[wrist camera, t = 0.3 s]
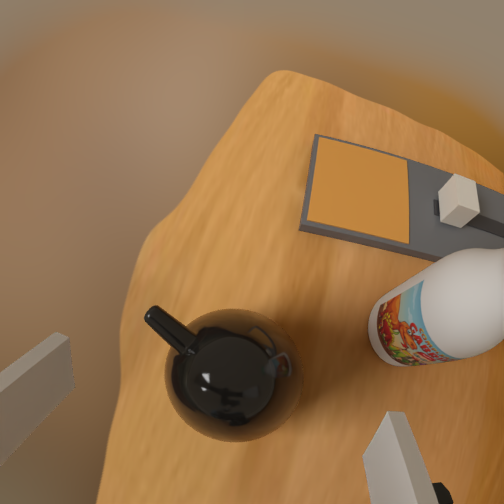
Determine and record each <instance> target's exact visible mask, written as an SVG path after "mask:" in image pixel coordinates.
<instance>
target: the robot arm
mask: <svg viewBox="0 0 504 504" xmlns="http://www.w3.org/2000/svg"><path fill="white" fill-rule="evenodd" d="M74 388H75V383H74V376H73V368H72V360H71V350H70V340H69V337H67V336H65V335H62V334H59V333H57V332H55V333H54V334H52V335H51V336H49V337H48V338H47V339H45V340H44V341H43V342H41V343H40V344H38V345H37V346H36V347H34V348H33V349H32V350H30V351H29V352H27V353H26V354H25V355H24V356H22V357H21V358H19V359H18V360H17V361H15V362H14V363H13V364H11V365H10V366H8V367H7V368H6V369H4V370H3V371H2V372H0V467H1V465H2V464H3V463H4V462H5V461H6V460H7V459H8V458H9V457H10V456H11V454H12V453H13V452H14V451H15V450H16V449H17V448H18V447H19V446H20V445H21V444H22V443H23V442H24V440H25V439H26V438H27V437H28V436H29V435H30V434H31V433H32V432H33V431H34V430H35V429H36V428H37V427H38V426H39V425H40V423H41V422H42V421H43V420H44V419H45V418H46V417H47V416H48V415H49V414H50V413H51V412H52V411H53V410H54V409H55V408H56V407H57V406H58V405H59V404H60V403H61V401H62V400H63V399H64V398H65V397H66V396H67V395H68V394H69V393H70V392H71V391H72V390H73V389H74ZM362 457H363V462H364V467H365V472H366V478H367V483H368V488H369V494H370V500H371V504H453V500H452V497H451V495H450V492H449V491H448V490H447V488H446V487H445V486H444V485H443V484H442V483H441V482H440V483H431V480H430V477H429V474H428V472H427V469H426V466H425V464H424V461H423V458H422V456H421V453H420V451H419V448H418V445H417V443H416V440H415V438H414V435H413V433H412V430H411V428H410V425H409V423H408V421H407V418H406V416H405V413H404V412H395V411H387V413H386V415H385V417H384V419H383V421H382V422H381V424H380V426H379V428H378V430H377V432H376V433H375V435H374V437H373V439H372V441H371V442H370V444H369V446H368V447H367V449H366V451H365V453H364V454H363V456H362Z"/></svg>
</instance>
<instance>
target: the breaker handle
mask: <svg viewBox="0 0 504 504" xmlns="http://www.w3.org/2000/svg"><path fill="white" fill-rule="evenodd" d="M438 194H439V207H440V222H443V223H446V224H449V225H453V226H456V227H459V228H462V227H463V226H464V225H465V224H467V223H468V222H469V221H470V220H471V219H473V218H474V217H475V216H476V215H477V214H479V213H480V209H479V202H478V195H477V189H476V183H475V181H473V180H470V179H468V178H465V177H463V176H460V175H457V174H454V175H453V176H452V177H451V178H450V179H449V180H448V182H447V183H446V184H445V185H444V186H443V187H442V188H441V189H440V190H439V192H438Z"/></svg>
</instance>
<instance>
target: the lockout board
mask: <svg viewBox="0 0 504 504" xmlns="http://www.w3.org/2000/svg"><path fill="white" fill-rule="evenodd" d="M452 176H453V174H451V173H448V172H445V171H442V170H440V169H437V168H434V167H431V166H428V165H425V164H422V163H419V162H416V161H413V160H410V159H407V158H403V157H400V156H397V155H394V154H390V153H387V152H384V151H380V150H377V149H373V148H369V147H366V146H362V145H358V144H355V143H351V142H347V141H343V140H339V139H335V138H331V137H326V136H322V135H318V134H315V137H314V140H313V146H312V152H311V159H310V165H309V172H308V178H307V184H306V191H305V197H304V203H303V209H302V214H301V220H300V226H299V230H300V231H304V232H309V233H313V234H318V235H322V236H327V237H331V238H336V239H340V240H345V241H349V242H354V243H358V244H362V245H367V246H371V247H375V248H380V249H384V250H388V251H392V252H396V253H401V254H405V255H409V256H413V257H417V258H421V259H425V260H429V261H433V262H437V261H438V260H440V259H442V258H443V257H445V256H447V255H450V254H452V253H454V252H457V251H460V250H464V249H471V248H483V249H501V248H504V195H503V194H501V193H498V192H496V191H494V190H491V189H489V188H487V187H484V186H482V185H479V184H477V183H476V189H477V195H478V202H479V209H480V213H479V214H477V215H476V216H475V217H474V218H473V219H471V220H470V221H469V222H468V223H467V224H465V225H464V226H463V227H462V228H459V227H456V226H453V225H449V224H446V223H443V222H440V207H439V194H438V192H439V190H440V189H441V188H442V187H443V186H444V185H445V184H446V183H447V182H448V180H449V179H450V178H451V177H452Z"/></svg>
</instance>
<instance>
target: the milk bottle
mask: <svg viewBox="0 0 504 504" xmlns="http://www.w3.org/2000/svg"><path fill="white" fill-rule="evenodd" d="M368 334H369V339H370V342H371V345H372V347H373V349H374V351H375V352H376V353H377V355H378V356H379V357H380V358H381V359H382V360H384V361H385V362H387V363H389V364H391V365H394V366H416V365H426V364H434V363H442V362H449V361H455V360H461V359H465V358H469V357H473V356H477V355H479V354H482V353H484V352H486V351H488V350H490V349H492V348H493V347H495V346H496V345H497V344H499V343H500V342H501V341H502V340H503V339H504V248H501V249H483V248H471V249H464V250H460V251H457V252H454V253H452V254H450V255H447V256H445V257H443V258H442V259H440V260H438V261H437V262H435V263H433V264H432V265H430V266H429V267H427V268H426V269H424V270H422V271H421V272H419V273H418V274H416V275H415V276H413V277H411V278H410V279H408V280H407V281H405V282H404V283H402V284H401V285H399V286H397V287H396V288H394V289H393V290H391V291H390V292H388V293H387V294H385V295H384V296H383V297H381V298H380V299H379V300H378V301H377V302H376V304H375V305H374V307H373V309H372V311H371V314H370V317H369V322H368Z"/></svg>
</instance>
